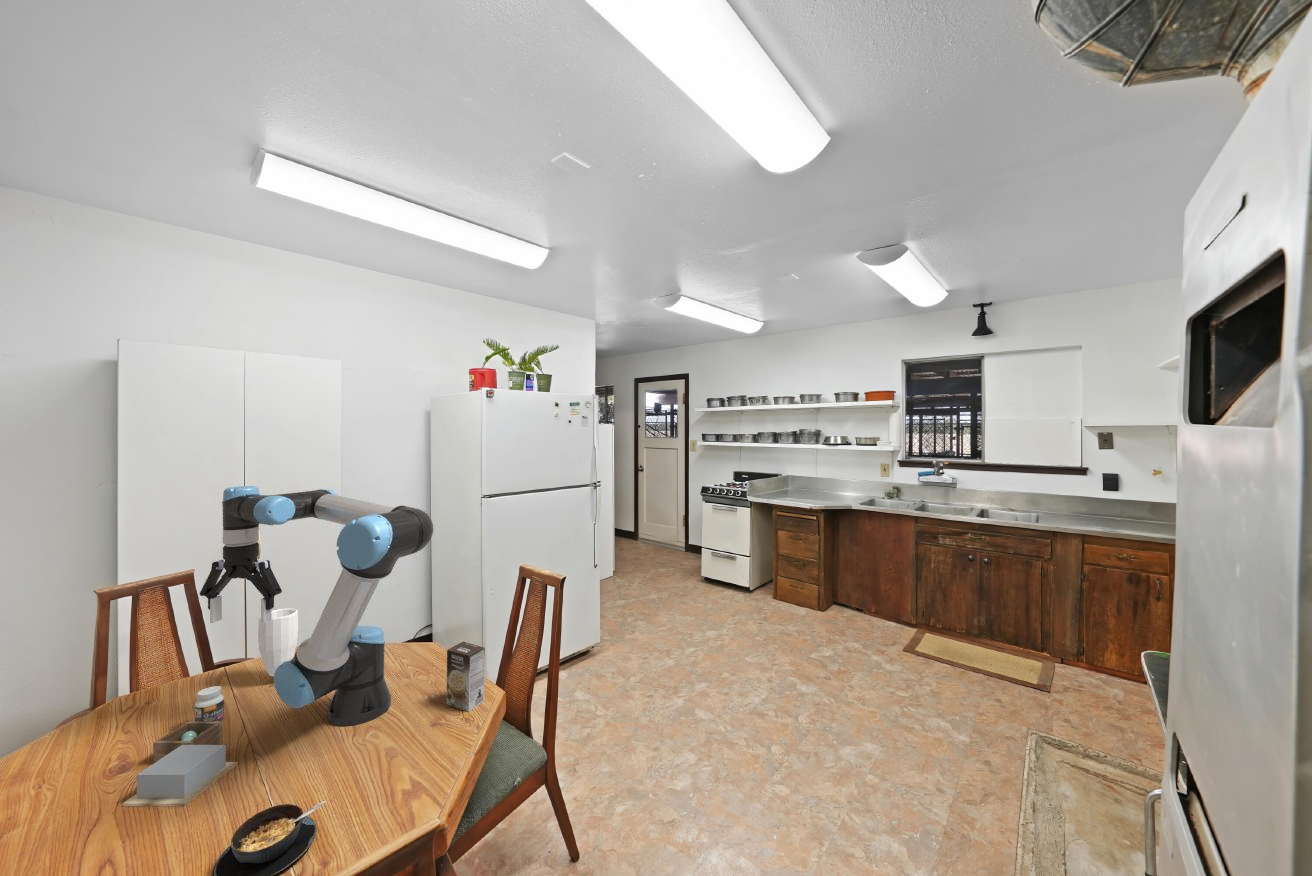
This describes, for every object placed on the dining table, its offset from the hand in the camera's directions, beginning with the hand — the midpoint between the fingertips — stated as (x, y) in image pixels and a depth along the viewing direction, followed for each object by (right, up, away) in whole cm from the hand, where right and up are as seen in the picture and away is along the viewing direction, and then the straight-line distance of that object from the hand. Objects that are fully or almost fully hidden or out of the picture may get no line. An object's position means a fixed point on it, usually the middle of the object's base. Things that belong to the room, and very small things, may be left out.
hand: (241, 621), depth 134 cm
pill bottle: (-5, -27, -4) cm, 28 cm away
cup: (-5, -27, +20) cm, 34 cm away
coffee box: (+58, -27, +9) cm, 64 cm away
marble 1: (-3, -26, -12) cm, 29 cm away
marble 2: (-1, -25, -16) cm, 30 cm away
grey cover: (+8, -26, -25) cm, 37 cm away
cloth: (+8, -27, -25) cm, 37 cm away
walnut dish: (-1, -27, -14) cm, 30 cm away
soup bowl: (+41, -28, -42) cm, 65 cm away
